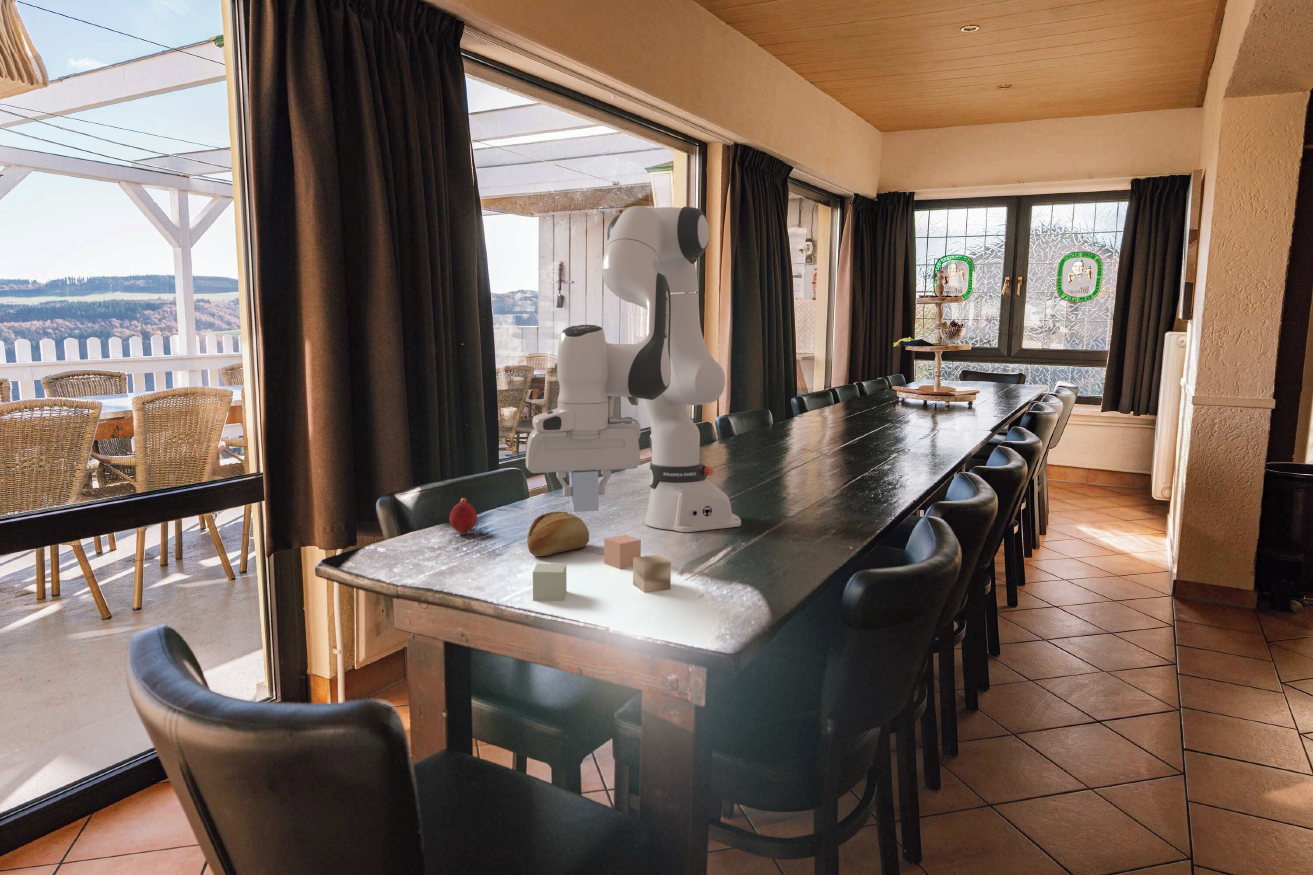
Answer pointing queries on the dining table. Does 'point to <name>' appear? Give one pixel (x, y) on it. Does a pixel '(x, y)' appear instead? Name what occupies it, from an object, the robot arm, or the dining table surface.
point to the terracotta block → (621, 551)
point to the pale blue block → (584, 491)
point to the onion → (463, 516)
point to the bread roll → (556, 533)
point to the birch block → (651, 573)
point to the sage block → (549, 582)
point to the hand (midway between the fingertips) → (583, 495)
